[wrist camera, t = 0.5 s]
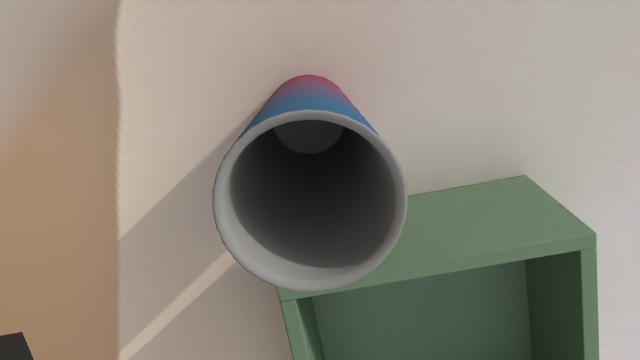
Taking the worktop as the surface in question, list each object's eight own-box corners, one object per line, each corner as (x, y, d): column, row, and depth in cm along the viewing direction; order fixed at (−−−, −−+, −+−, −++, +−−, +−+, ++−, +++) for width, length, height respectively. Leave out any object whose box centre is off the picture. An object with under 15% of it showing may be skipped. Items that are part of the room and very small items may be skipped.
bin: (283, 217, 36) (276, 288, 27) (525, 175, 35) (596, 232, 26) (326, 412, 40) (331, 523, 32) (539, 377, 40) (602, 481, 31)
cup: (268, 181, 35) (242, 309, 20) (239, 74, 33) (186, 136, 18) (374, 156, 34) (422, 270, 20) (351, 47, 32) (387, 88, 18)
